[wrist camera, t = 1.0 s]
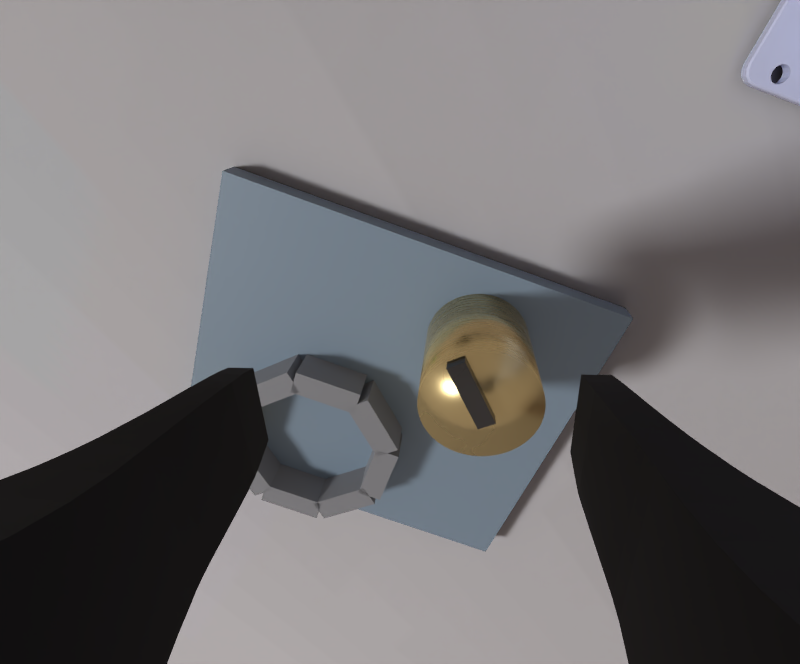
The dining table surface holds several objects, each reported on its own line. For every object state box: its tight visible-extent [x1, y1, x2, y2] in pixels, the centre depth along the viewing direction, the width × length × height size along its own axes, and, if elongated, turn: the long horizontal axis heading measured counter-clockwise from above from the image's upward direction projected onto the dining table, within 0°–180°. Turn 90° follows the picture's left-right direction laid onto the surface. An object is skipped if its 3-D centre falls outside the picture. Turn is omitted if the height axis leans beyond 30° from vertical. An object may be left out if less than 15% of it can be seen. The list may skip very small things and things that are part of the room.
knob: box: [417, 294, 546, 456], centre depth 17 cm, size 4×4×5 cm
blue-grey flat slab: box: [191, 167, 633, 551], centre depth 21 cm, size 16×14×2 cm
